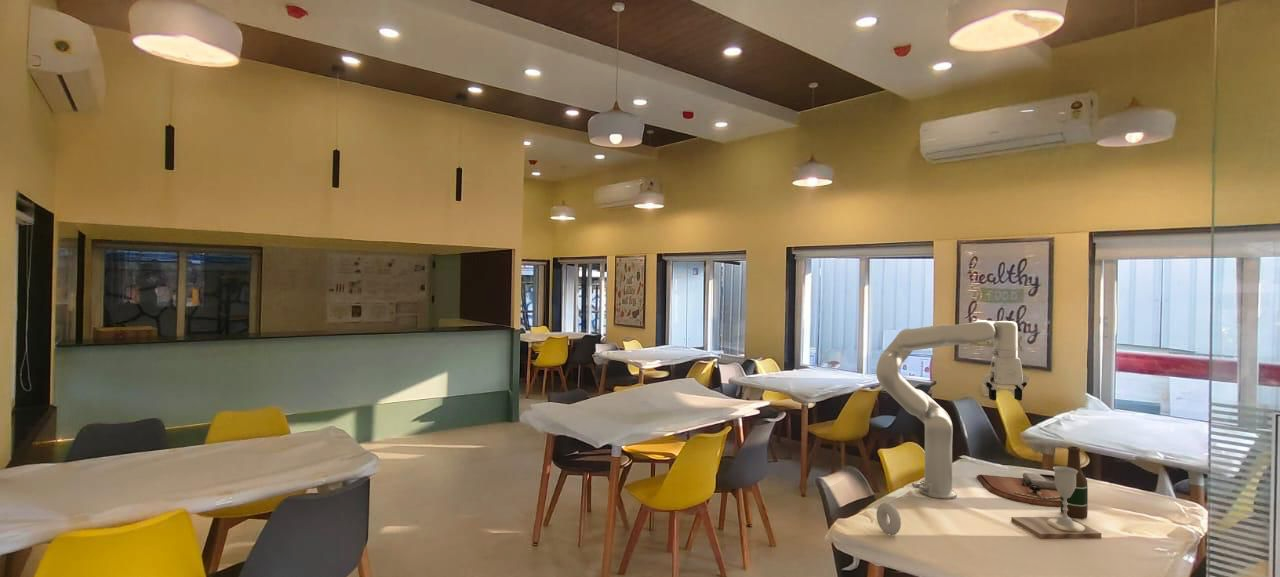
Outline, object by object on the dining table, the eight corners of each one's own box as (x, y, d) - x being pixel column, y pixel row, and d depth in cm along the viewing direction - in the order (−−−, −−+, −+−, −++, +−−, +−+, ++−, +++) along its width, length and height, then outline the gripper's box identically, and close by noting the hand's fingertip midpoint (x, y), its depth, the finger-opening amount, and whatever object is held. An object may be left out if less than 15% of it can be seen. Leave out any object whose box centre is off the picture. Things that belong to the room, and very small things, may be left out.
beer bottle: (1058, 515, 207) (1058, 447, 208) (1062, 509, 213) (1062, 443, 213) (1086, 521, 202) (1086, 451, 202) (1088, 515, 208) (1089, 447, 208)
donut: (903, 539, 187) (903, 508, 187) (894, 540, 186) (894, 509, 186) (883, 527, 196) (883, 497, 196) (874, 528, 195) (874, 498, 195)
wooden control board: (1062, 473, 240) (1094, 498, 212) (1061, 486, 240) (1094, 512, 212) (976, 466, 250) (997, 489, 221) (976, 478, 250) (996, 503, 221)
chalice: (1055, 518, 199) (1055, 465, 199) (1079, 523, 195) (1080, 469, 195) (1050, 524, 194) (1050, 469, 194) (1075, 530, 189) (1075, 474, 189)
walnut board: (1040, 538, 188) (1040, 532, 188) (1011, 521, 202) (1011, 515, 202) (1101, 538, 188) (1101, 531, 188) (1068, 520, 202) (1068, 514, 202)
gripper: (989, 355, 216) (989, 401, 216) (1035, 355, 217) (1035, 401, 217) (976, 353, 224) (976, 398, 224) (1021, 353, 224) (1021, 398, 224)
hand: (1005, 399), depth 220 cm, fingers open, 9 cm apart
